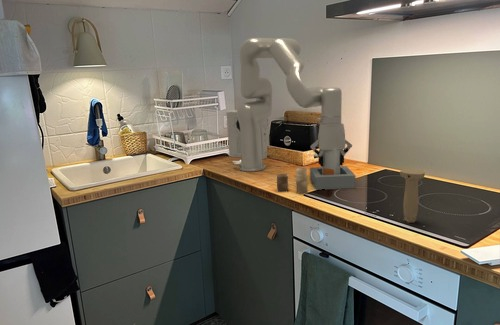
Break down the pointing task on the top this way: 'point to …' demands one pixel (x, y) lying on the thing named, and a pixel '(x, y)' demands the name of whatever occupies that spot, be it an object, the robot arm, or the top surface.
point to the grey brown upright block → (301, 180)
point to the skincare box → (331, 162)
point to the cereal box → (235, 135)
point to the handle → (411, 193)
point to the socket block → (332, 179)
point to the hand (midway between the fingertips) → (331, 164)
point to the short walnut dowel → (282, 182)
